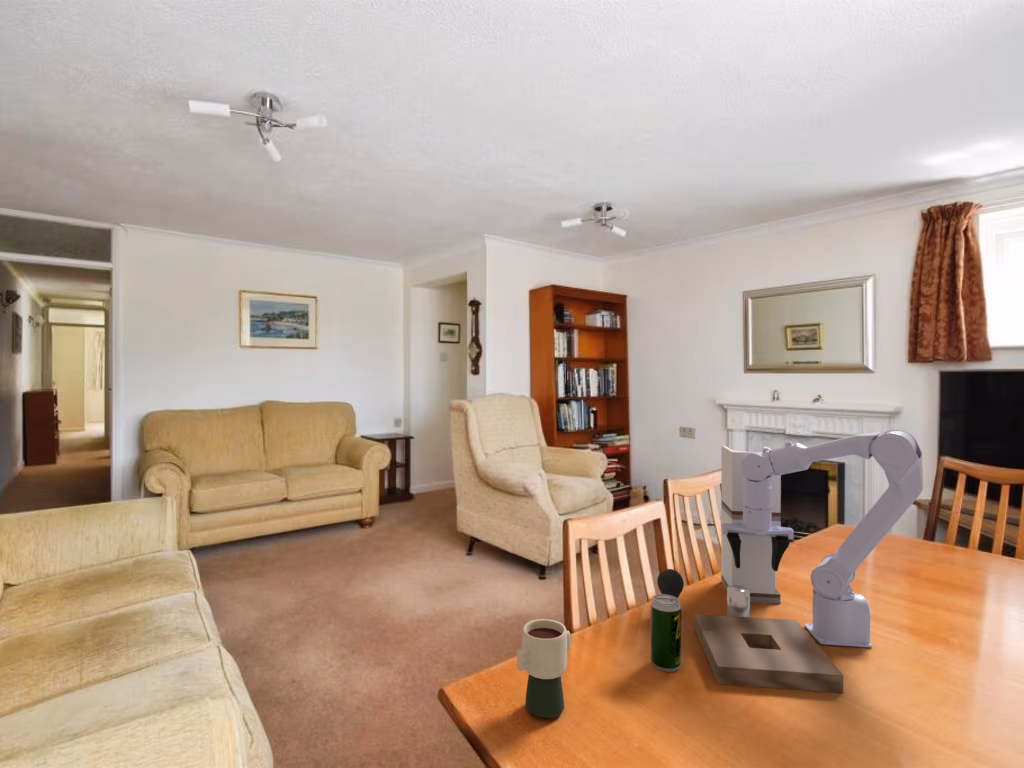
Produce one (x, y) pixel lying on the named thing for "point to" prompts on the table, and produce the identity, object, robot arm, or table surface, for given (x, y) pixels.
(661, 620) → the green drink can
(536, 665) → the character mug
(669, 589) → the light bulb
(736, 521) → the tall white column
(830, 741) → the table surface
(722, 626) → the housing block
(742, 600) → the shiny metal cylinder
